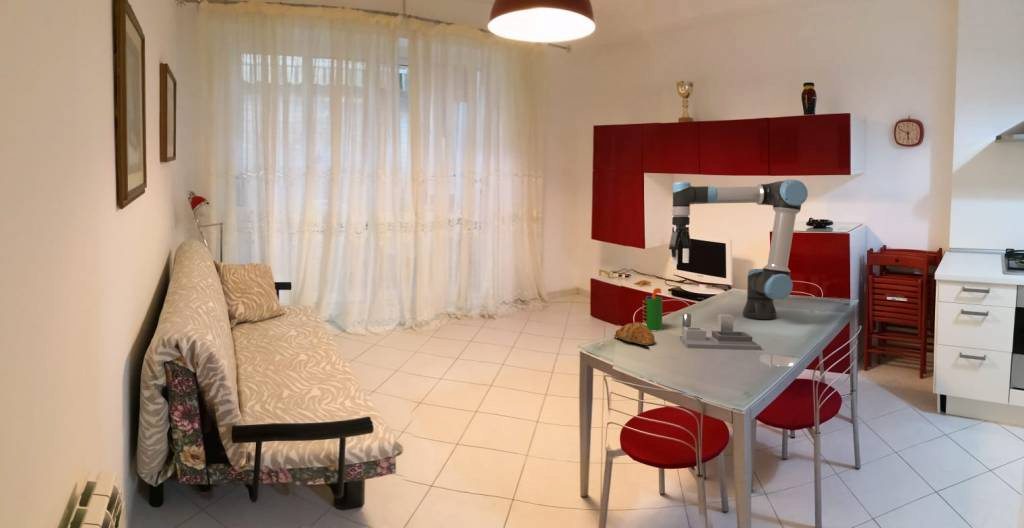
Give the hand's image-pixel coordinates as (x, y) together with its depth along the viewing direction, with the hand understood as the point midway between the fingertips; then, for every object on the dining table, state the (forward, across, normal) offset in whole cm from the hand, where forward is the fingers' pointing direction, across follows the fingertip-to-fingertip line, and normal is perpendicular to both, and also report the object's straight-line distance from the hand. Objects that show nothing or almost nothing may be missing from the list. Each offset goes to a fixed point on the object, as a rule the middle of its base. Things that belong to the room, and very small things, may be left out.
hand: (680, 263), depth 282 cm
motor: (+31, +10, -8) cm, 34 cm away
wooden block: (+31, +4, +22) cm, 38 cm away
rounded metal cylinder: (+31, +11, +8) cm, 34 cm away
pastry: (+31, +34, -5) cm, 47 cm away
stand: (+31, +20, +24) cm, 44 cm away
